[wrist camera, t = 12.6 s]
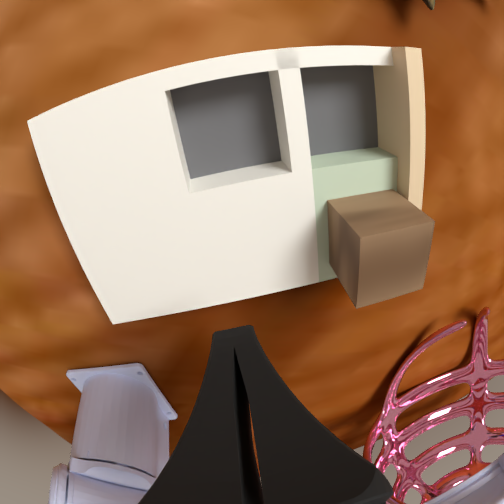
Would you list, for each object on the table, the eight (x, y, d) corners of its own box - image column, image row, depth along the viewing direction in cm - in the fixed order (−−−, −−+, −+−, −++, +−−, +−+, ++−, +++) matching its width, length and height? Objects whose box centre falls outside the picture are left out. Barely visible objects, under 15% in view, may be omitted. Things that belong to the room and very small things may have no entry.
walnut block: (388, 249, 18) (422, 288, 15) (329, 263, 18) (356, 308, 15) (392, 188, 16) (434, 221, 13) (327, 200, 16) (360, 237, 12)
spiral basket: (593, 455, 3) (462, 631, 2) (627, 265, 12) (590, 463, 11) (292, 354, 30) (328, 522, 29) (456, 280, 39) (462, 429, 38)
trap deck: (386, 241, 21) (413, 270, 18) (119, 299, 20) (109, 337, 17) (382, 49, 14) (421, 48, 11) (48, 113, 13) (14, 125, 10)
